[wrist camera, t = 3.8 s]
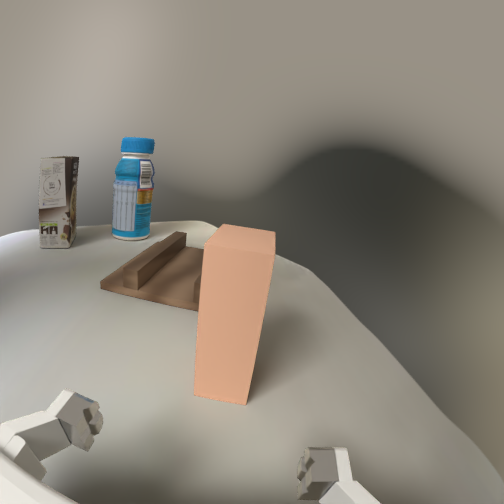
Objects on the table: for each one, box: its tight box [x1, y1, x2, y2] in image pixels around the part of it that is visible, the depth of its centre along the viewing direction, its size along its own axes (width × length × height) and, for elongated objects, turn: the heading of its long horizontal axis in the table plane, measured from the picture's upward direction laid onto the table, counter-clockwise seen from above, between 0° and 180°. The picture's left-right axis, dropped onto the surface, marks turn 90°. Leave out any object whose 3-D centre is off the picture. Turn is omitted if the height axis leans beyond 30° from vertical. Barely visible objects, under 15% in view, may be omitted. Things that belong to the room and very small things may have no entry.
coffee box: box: [39, 156, 79, 248], centre depth 43 cm, size 9×6×16 cm
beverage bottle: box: [112, 137, 155, 240], centre depth 53 cm, size 8×8×20 cm
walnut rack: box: [100, 231, 204, 311], centre depth 41 cm, size 18×20×4 cm
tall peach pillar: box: [194, 224, 275, 405], centre depth 21 cm, size 4×6×12 cm, turn 175°
